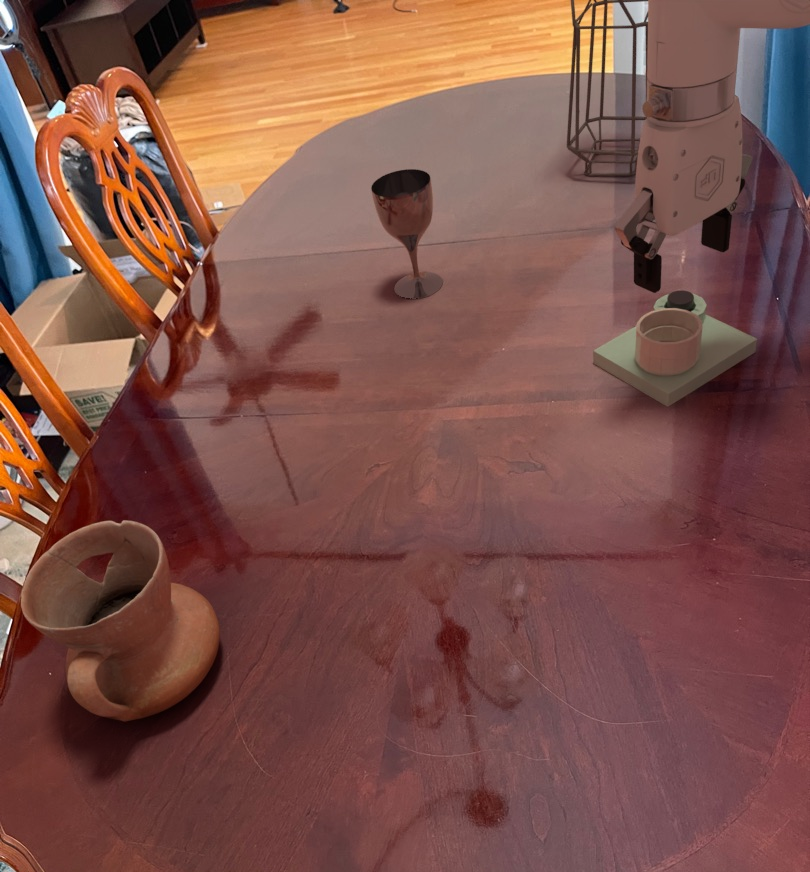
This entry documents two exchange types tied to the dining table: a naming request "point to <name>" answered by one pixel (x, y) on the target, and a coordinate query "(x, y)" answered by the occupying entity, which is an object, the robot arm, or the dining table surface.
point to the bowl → (668, 341)
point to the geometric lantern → (602, 88)
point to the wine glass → (407, 223)
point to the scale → (716, 356)
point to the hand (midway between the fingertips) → (681, 267)
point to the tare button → (680, 300)
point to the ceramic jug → (122, 621)
